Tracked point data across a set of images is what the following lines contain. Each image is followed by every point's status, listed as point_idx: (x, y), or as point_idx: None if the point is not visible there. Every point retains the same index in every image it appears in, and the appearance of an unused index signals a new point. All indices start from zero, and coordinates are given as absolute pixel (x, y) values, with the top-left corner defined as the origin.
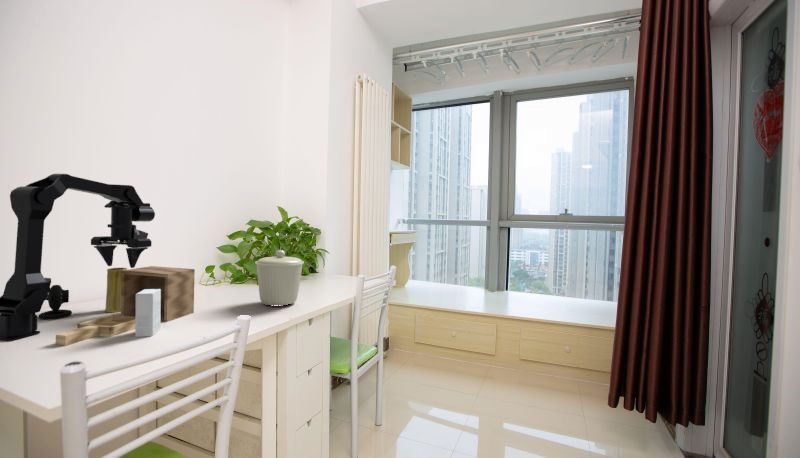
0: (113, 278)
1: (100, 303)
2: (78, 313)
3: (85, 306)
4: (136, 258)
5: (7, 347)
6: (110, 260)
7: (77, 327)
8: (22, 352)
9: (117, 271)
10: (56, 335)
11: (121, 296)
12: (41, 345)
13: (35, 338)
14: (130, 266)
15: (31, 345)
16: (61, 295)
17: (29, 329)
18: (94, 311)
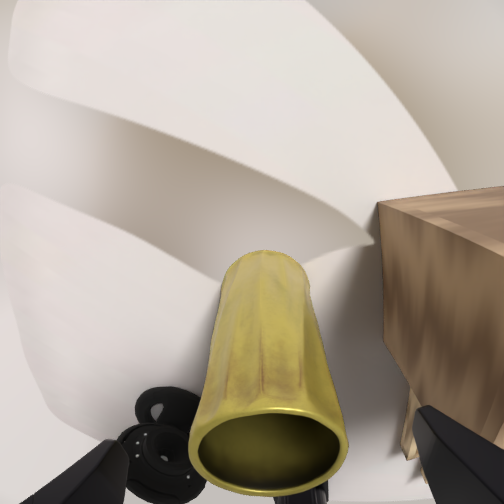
0: (303, 435)
1: (82, 249)
2: (191, 375)
3: (94, 306)
4: (501, 471)
5: (356, 501)
6: (102, 491)
7: (404, 453)
8: (401, 492)
9: (329, 465)
10: (426, 482)
11: (416, 392)
12: (400, 480)
13: (351, 482)
14: (418, 442)
15: (384, 487)
16: (190, 473)
17: (323, 495)
18: (207, 339)
